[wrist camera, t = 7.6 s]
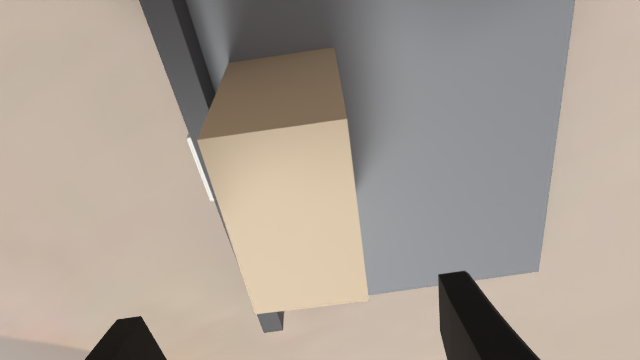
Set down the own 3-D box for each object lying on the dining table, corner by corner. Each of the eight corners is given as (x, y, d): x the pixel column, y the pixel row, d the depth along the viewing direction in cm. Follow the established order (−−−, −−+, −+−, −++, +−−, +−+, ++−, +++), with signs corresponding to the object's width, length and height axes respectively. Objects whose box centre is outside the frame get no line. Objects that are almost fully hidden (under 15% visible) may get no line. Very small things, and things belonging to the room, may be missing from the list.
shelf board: (650, -761, 9) (754, -952, 7) (530, 258, 24) (551, 293, 22) (-50, -557, 10) (-143, -671, 8) (258, 296, 25) (254, 334, 23)
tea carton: (353, 198, 21) (368, 300, 16) (266, 210, 21) (253, 314, 16) (334, 47, 17) (347, 118, 12) (227, 62, 17) (195, 140, 12)
